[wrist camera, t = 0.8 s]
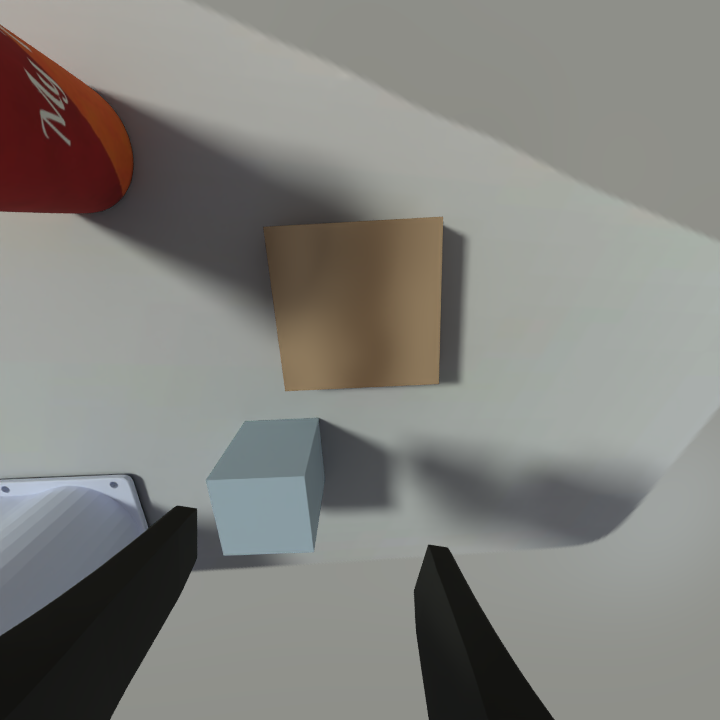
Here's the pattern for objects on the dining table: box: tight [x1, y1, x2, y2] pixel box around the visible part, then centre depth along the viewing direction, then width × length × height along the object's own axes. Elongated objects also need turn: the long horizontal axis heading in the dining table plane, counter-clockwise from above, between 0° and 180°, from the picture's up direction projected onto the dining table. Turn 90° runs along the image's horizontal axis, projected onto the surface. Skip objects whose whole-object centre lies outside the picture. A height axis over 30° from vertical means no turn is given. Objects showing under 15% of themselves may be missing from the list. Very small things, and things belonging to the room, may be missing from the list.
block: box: [206, 418, 325, 556], centre depth 18 cm, size 4×4×6 cm
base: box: [263, 217, 443, 391], centre depth 17 cm, size 8×8×2 cm
